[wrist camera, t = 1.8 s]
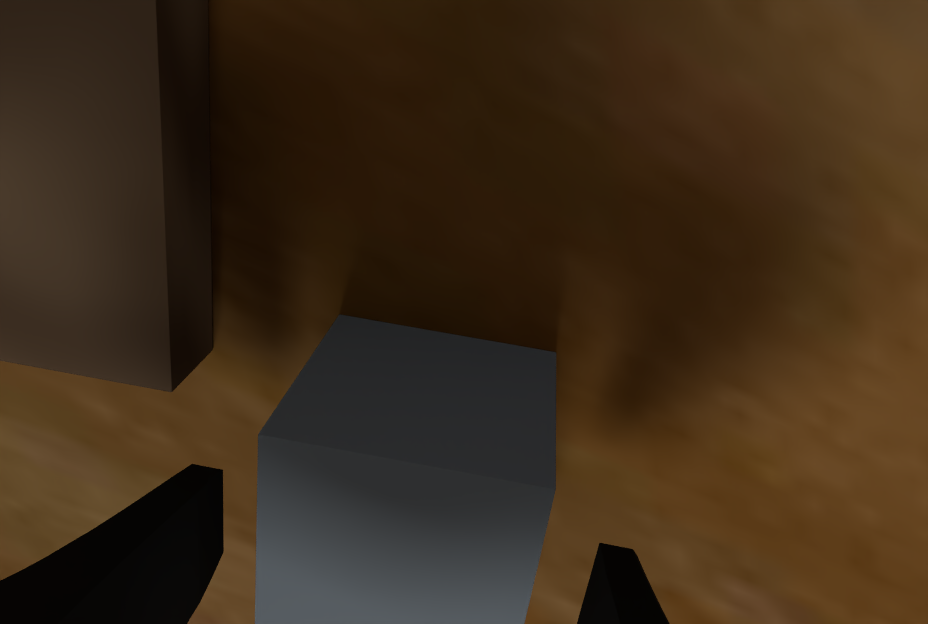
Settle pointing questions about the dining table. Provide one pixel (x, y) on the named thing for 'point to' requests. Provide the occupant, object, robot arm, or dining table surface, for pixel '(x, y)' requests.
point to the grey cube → (406, 480)
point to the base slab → (105, 188)
